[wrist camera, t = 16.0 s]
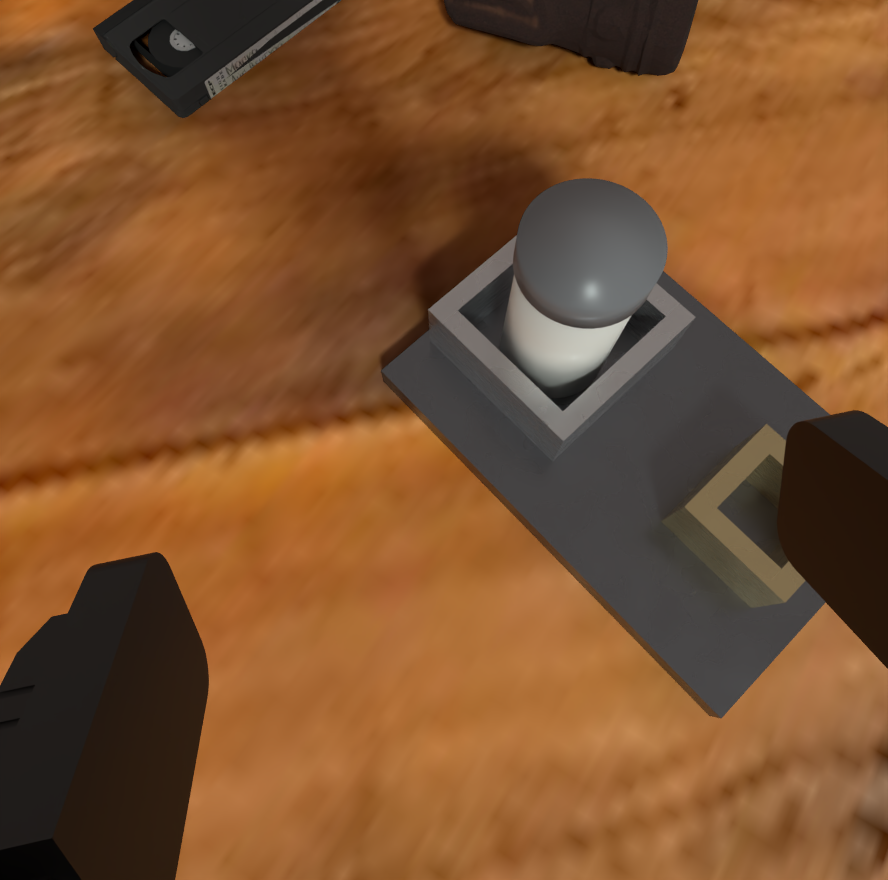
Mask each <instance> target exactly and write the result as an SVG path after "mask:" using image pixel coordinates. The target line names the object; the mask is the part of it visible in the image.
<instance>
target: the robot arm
mask: <svg viewBox="0 0 888 880" xmlns="http://www.w3.org/2000/svg"><path fill="white" fill-rule="evenodd" d="M777 530H778V536H779V540H780V543H781V546H782V549H783V551H784V553H785V555H786V557H787V559H788V561H789V562H790V564H791V565H792V566H793V567H794V569H795V570H796V571H797V572H798V573H799V574H800V575H801V576H802V577H803V578H804V579H805V580H806V582H807V583H808V584H809V585H810V586H811V587H812V588H813V589H814V590H815V591H816V592H817V593H818V594H819V595H820V597H821V598H822V599H823V600H824V601H825V602H826V603H827V604H828V605H829V606H830V607H831V608H832V609H833V611H834V612H835V613H836V614H837V615H838V616H839V617H840V618H841V619H842V620H843V621H844V622H845V623H846V624H847V626H848V627H849V628H850V629H851V630H852V631H853V632H854V633H855V634H856V635H857V636H858V637H859V638H860V639H861V641H862V642H863V643H864V644H865V645H866V646H867V647H868V648H869V649H870V650H871V651H872V652H873V653H874V655H875V656H876V657H877V658H878V659H879V660H880V661H881V662H882V663H883V664H884V665H885V666H886V667H887V668H888V427H887V426H885V425H884V424H882V423H881V422H879V421H877V420H876V419H874V418H873V417H871V416H870V415H868V414H866V413H864V412H862V411H856V410H853V411H848V412H844V413H839V414H834V415H829V416H824V417H819V418H814V419H810V420H805V421H800V422H797V423H795V424H794V425H793V426H792V427H791V428H790V430H789V432H788V435H787V439H786V445H785V454H784V463H783V471H782V480H781V489H780V497H779V506H778V515H777ZM208 687H209V675H208V664H207V658H206V653H205V649H204V646H203V643H202V640H201V638H200V636H199V633H198V631H197V629H196V626H195V624H194V622H193V619H192V617H191V615H190V612H189V610H188V608H187V605H186V603H185V601H184V598H183V596H182V594H181V591H180V589H179V587H178V584H177V582H176V580H175V577H174V575H173V573H172V570H171V568H170V566H169V564H168V562H167V560H166V559H165V558H164V556H163V555H161V554H160V553H158V552H155V553H150V554H145V555H140V556H135V557H130V558H125V559H121V560H116V561H111V562H106V563H101V564H96V565H93V566H91V567H90V568H89V570H88V571H87V573H86V575H85V577H84V579H83V581H82V583H81V586H80V588H79V590H78V592H77V594H76V596H75V599H74V601H73V603H72V605H71V607H70V610H69V612H68V613H67V614H63V615H58V616H53V617H51V618H50V619H49V620H48V621H47V622H46V623H45V624H44V625H43V626H42V627H41V629H40V630H39V631H38V632H37V633H36V634H35V635H34V636H33V637H32V638H31V639H30V640H29V641H28V642H27V643H26V644H25V645H24V646H23V647H22V648H21V649H20V651H19V652H18V653H17V654H16V656H15V658H14V660H13V662H12V664H11V666H10V668H9V669H8V671H7V673H6V675H5V677H4V679H3V681H2V683H1V685H0V880H175V877H176V871H177V866H178V860H179V854H180V849H181V843H182V837H183V832H184V826H185V820H186V815H187V809H188V804H189V798H190V792H191V787H192V781H193V775H194V770H195V764H196V758H197V753H198V747H199V741H200V736H201V730H202V725H203V719H204V713H205V708H206V702H207V696H208Z"/></svg>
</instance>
